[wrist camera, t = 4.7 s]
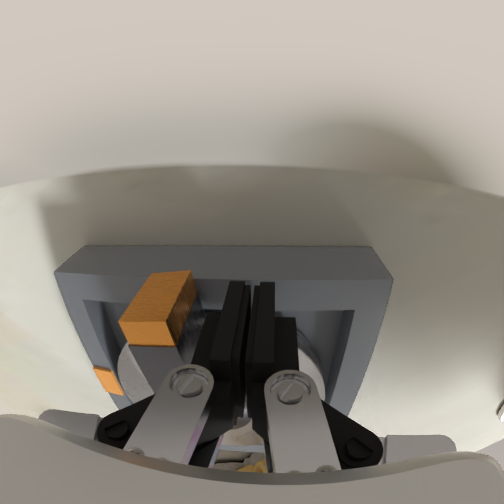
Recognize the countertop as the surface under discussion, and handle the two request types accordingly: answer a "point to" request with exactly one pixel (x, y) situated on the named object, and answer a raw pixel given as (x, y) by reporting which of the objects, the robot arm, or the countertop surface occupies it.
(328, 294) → the housing
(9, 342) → the countertop surface
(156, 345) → the dial
